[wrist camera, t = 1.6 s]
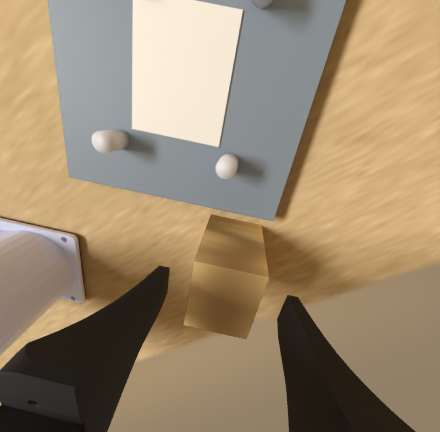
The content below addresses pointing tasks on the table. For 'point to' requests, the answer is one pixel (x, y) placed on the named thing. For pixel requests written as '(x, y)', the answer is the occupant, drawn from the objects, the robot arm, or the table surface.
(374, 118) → the table surface
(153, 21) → the pin board
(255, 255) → the ochre block
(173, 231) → the table surface
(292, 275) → the table surface
